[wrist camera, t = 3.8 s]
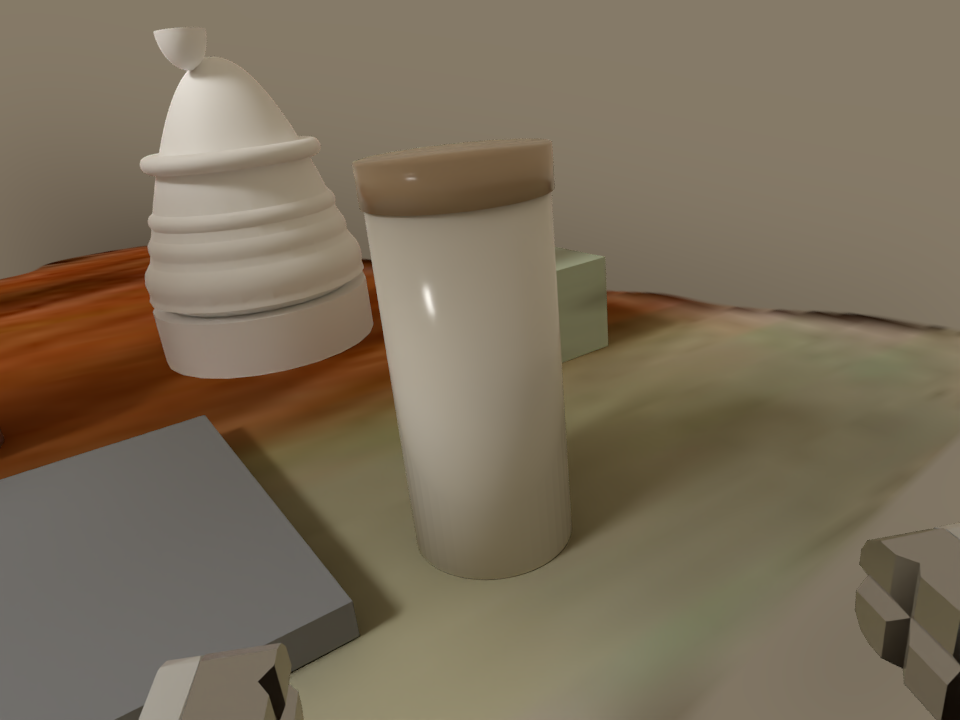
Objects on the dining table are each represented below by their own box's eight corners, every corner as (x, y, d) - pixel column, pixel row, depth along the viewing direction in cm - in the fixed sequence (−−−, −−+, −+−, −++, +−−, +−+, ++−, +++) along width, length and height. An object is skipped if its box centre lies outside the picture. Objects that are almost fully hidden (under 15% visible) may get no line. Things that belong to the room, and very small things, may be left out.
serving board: (-185, 570, 25) (-200, 543, 25) (211, 438, 32) (204, 414, 32) (-356, 1012, 12) (-392, 972, 12) (359, 635, 19) (352, 601, 19)
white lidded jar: (385, 524, 24) (320, 162, 20) (510, 468, 27) (478, 138, 22) (471, 607, 20) (414, 170, 15) (609, 531, 23) (594, 138, 18)
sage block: (485, 341, 41) (476, 257, 39) (538, 323, 43) (532, 242, 41) (551, 368, 36) (545, 274, 34) (608, 346, 38) (605, 256, 36)
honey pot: (297, 385, 37) (217, 8, 30) (119, 372, 42) (17, 44, 35) (407, 309, 48) (365, 20, 41) (256, 305, 53) (197, 45, 46)
